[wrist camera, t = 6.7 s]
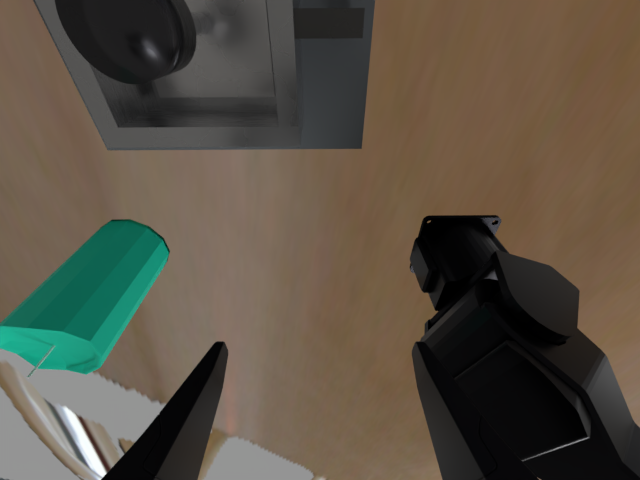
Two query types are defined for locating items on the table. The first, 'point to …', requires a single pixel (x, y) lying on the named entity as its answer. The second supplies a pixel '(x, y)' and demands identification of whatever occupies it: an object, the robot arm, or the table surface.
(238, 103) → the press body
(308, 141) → the slate mat
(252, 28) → the plunger
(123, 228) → the candle
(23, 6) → the table surface
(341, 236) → the table surface
